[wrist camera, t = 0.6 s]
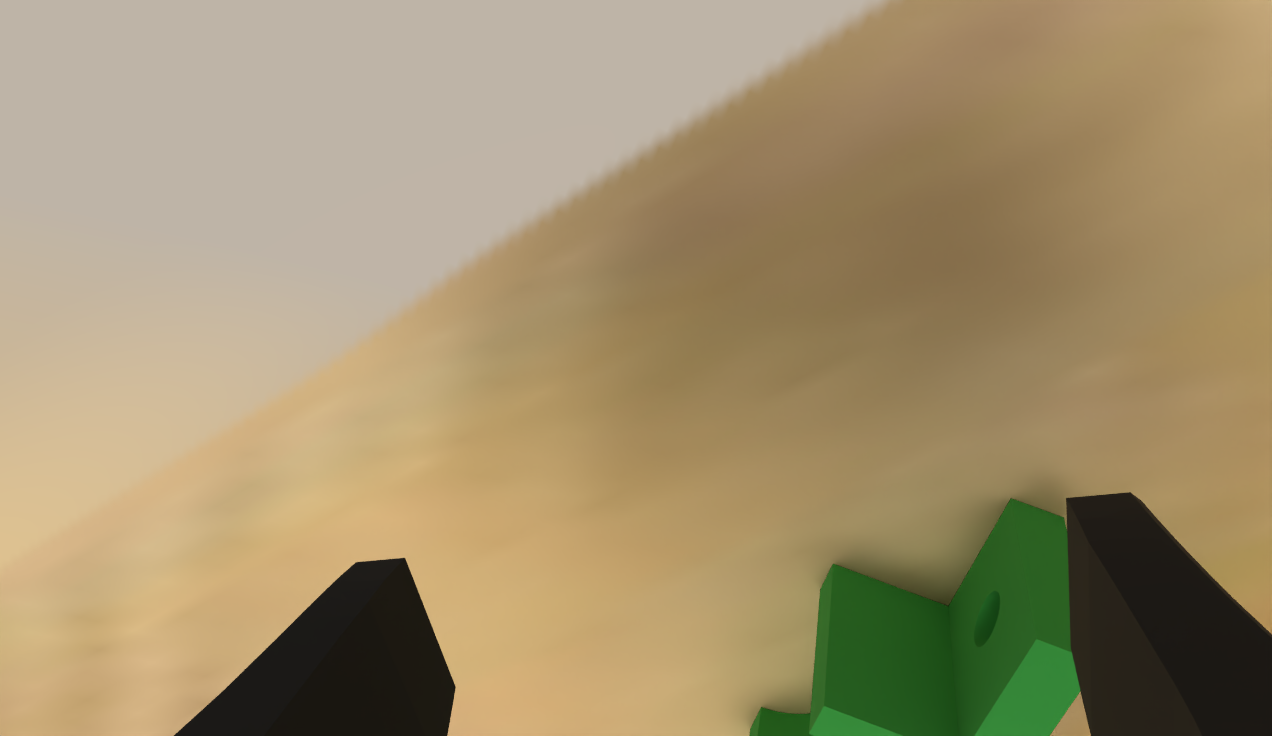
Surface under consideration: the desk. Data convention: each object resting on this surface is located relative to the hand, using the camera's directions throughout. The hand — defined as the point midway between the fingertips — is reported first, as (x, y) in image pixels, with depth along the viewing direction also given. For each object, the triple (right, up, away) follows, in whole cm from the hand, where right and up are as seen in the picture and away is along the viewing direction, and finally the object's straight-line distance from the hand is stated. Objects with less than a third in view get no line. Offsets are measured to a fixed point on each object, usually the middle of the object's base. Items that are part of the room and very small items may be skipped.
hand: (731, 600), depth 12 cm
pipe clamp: (+4, -4, +13) cm, 15 cm away
